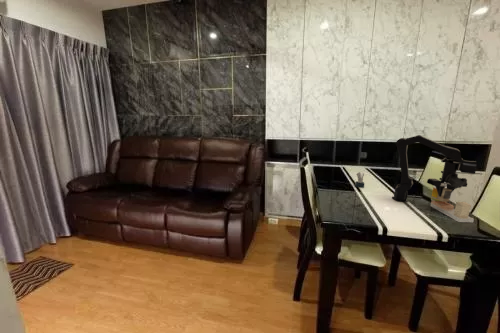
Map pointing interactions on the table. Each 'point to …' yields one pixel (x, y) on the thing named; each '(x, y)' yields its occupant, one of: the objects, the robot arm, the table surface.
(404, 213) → the table surface
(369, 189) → the table surface
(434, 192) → the supplement bottle
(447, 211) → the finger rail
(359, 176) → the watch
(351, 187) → the table surface
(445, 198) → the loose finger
